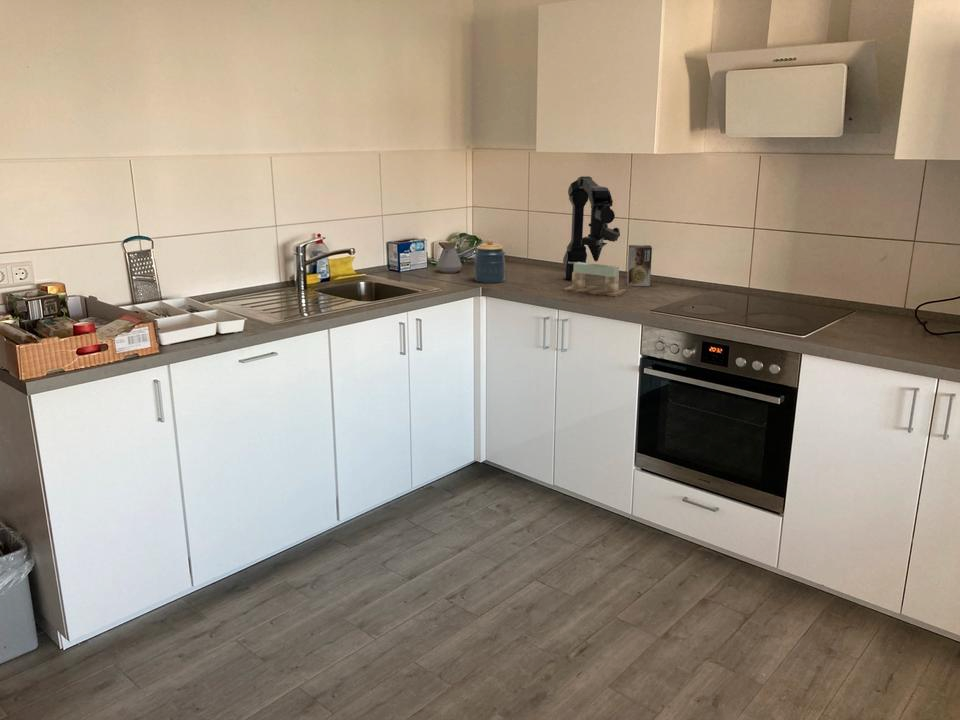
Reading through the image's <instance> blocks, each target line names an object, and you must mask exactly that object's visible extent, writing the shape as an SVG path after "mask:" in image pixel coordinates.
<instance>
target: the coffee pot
mask: <svg viewBox="0 0 960 720" xmlns="http://www.w3.org/2000/svg"><path fill="white" fill-rule="evenodd" d="M437 245H439V247H440V248H442V250H441V252H440V253H441V254H440V256H439V258H438V260H437V263H436V268H437V270H438V271H439V272H440V273H443V274H454V273H455V274H456V273H458V272H459V271H460V270H461V269H462V266H463V264H462V262H461V260H460V257H459V255H458V253H457V250H456V245H457V242H438V243H437Z"/></svg>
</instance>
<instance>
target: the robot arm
mask: <svg viewBox="0 0 960 720" xmlns="http://www.w3.org/2000/svg"><path fill="white" fill-rule="evenodd" d="M567 194H568V195H567V196H568V200H569V201H570V203H571V205H572V214H571V215H572V216H571V236H570V237H571V238H570V242H569V244H568V245H567V246H566V251H565V253H564V256H563V259H562V263H563V265H564V266H565V277H563V280H569V281H572V273H573V269H574V263H577V262H582V263H587V257H588V253H587V247H588V249H589V251H590V254H591V256H592V259H593V261H594V262H599V258H600V255H601V253H602V250H603V248H604V247H605V246H606V245H607V244H608V243H607V242H605V241H608V242H613V243H615V242H617V241H618V239H619V237H621V232H620V228H618V227H614V228H610V227H609V226H608V225H609V224H611V223H612V222H613V221H614V220H615V217H616V216H615V212H614V210H613V208H612V209H611V207H613V202H614V201H613V197H612V194H611V192H610V189H609V188H608V187H606V186H601V185H599V184H597V182H596V181H594V180H593V178H592V176H587V175H586V176H585V175H583V176H582V175H581V176H579V177H578V178H577V179H576V180H574V181H573V182H571V183H570V185H569V187H568V190H567ZM588 201H589V203H590V223H588V227H590V229H589V234H587V236H584V237H583V235H584V233H583V232H584V215H585V214H584V212H585V206H586V205H587V202H588ZM586 246H587V247H586Z"/></svg>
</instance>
